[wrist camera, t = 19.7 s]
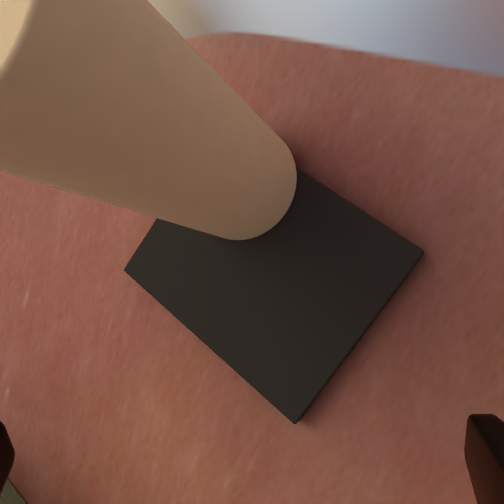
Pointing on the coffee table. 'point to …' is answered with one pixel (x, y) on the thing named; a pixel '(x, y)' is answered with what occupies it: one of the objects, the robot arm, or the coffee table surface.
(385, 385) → the coffee table surface
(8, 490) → the cabinet
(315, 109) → the coffee table surface
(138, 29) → the candle
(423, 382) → the coffee table surface
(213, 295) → the mat
